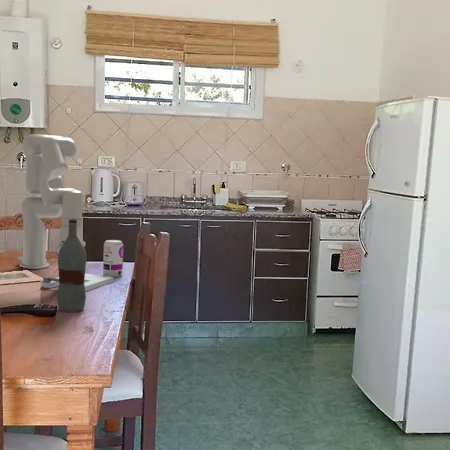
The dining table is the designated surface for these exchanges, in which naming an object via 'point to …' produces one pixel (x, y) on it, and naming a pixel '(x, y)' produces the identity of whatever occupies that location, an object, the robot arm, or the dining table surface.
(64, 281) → the bottle
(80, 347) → the dining table surface
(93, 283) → the shelf board
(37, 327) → the dining table surface
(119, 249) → the supplement can
